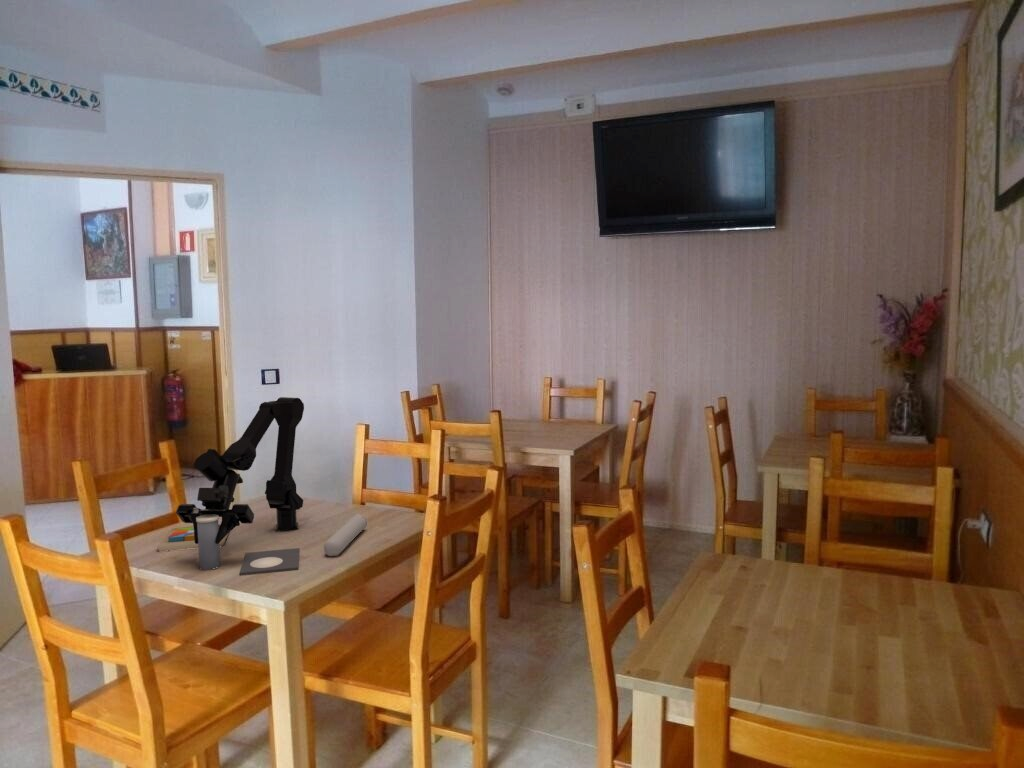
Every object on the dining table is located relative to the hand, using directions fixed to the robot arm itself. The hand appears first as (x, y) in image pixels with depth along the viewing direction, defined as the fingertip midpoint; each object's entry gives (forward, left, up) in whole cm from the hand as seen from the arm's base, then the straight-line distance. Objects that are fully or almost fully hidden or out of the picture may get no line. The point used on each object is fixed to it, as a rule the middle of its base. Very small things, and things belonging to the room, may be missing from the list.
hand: (206, 543), depth 189 cm
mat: (0, +15, -7) cm, 17 cm away
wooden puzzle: (-27, -7, -7) cm, 29 cm away
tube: (-11, +35, -7) cm, 37 cm away
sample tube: (-1, 0, -7) cm, 7 cm away
